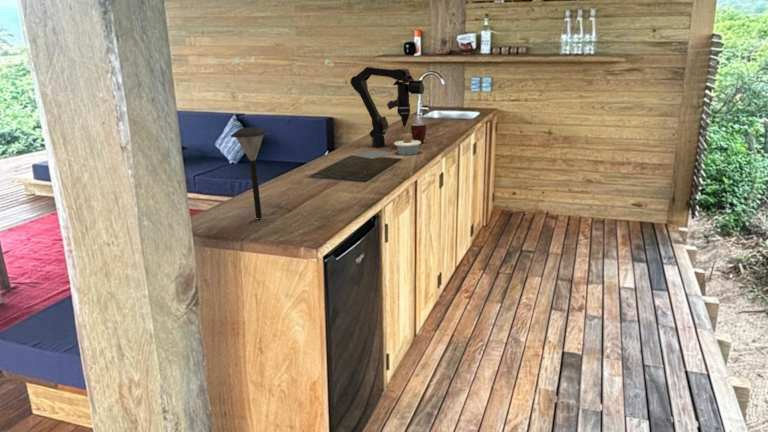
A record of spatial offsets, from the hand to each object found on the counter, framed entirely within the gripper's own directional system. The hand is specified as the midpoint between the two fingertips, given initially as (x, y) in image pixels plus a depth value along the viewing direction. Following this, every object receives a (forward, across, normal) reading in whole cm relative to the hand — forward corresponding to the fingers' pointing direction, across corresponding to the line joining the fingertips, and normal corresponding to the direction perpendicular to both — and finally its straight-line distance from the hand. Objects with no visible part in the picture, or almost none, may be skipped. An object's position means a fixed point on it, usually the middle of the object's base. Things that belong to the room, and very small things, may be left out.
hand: (404, 125), depth 306 cm
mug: (+12, -13, +7) cm, 19 cm away
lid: (+7, +15, +1) cm, 17 cm away
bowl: (+12, +16, +2) cm, 20 cm away
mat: (+12, +16, -16) cm, 25 cm away
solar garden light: (+12, +119, -48) cm, 129 cm away
